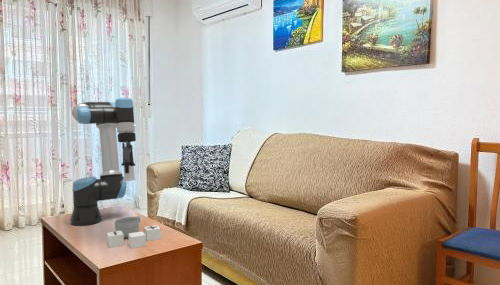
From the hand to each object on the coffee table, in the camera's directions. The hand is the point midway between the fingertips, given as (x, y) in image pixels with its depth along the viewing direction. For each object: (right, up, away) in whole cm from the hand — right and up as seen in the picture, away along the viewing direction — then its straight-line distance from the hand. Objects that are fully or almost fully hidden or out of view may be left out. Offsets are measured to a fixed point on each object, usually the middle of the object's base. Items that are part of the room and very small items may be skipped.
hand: (129, 180), depth 163 cm
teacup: (-4, -27, +11) cm, 29 cm away
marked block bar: (-6, -28, -2) cm, 28 cm away
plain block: (+4, -28, -3) cm, 28 cm away
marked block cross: (+8, -27, +6) cm, 29 cm away
